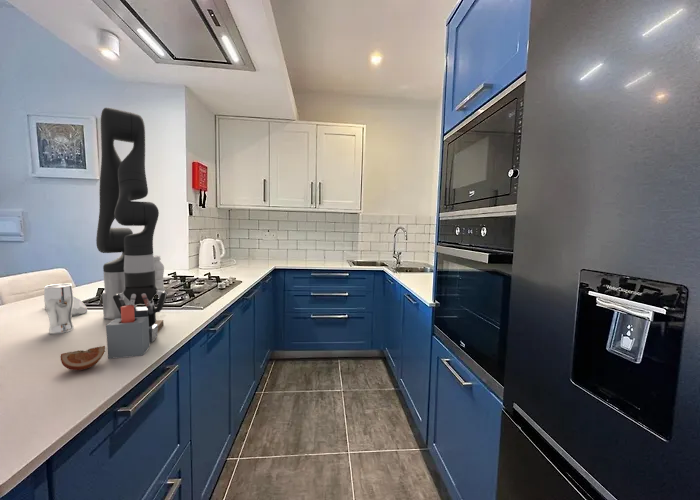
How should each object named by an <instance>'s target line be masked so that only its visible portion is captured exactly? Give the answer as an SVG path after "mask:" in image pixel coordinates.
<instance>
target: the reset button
mask: <svg viewBox="0 0 700 500" xmlns="http://www.w3.org/2000/svg"><path fill="white" fill-rule="evenodd" d="M134 321H135V313H134V305H125V306H122V307H121V323H130V322H134Z"/></svg>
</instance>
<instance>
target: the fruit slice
mask: <svg viewBox="0 0 700 500" xmlns="http://www.w3.org/2000/svg"><path fill="white" fill-rule="evenodd" d="M105 352H106V345H101V346H96V347H91V348H88V349H86V350H74V351H68V352H63V353H61V354H60V355H59V356H60V362H61V364H62V366H63V367H64V368H66V369H68V370H69V371H70V370H72V371H83V370H87V369H90V368H92V367H94V366H95V365H97V364H98V362H100V360H101V359H102V358H103V356H104V354H105Z"/></svg>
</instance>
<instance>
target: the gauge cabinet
mask: <svg viewBox="0 0 700 500" xmlns="http://www.w3.org/2000/svg"><path fill="white" fill-rule="evenodd" d="M105 329H106V330H105V331H106V332H105V333H106V346H107V348H106V349H107V359H118V358H129V357H139V356H144V355H145V354H146V352H147V351H148V350H149V348H150V346H151V345H150V342H149V320H148V316H147V317H135V321H134V322H130V323H121V318H117V319H112V320H111V321H110V322H109V323H107V324H106V325H105Z"/></svg>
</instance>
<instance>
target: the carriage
mask: <svg viewBox="0 0 700 500" xmlns="http://www.w3.org/2000/svg"><path fill="white" fill-rule="evenodd" d="M134 313H135V317H147V316H148V320H149V312H148V309H147V308H146V306H136V308H135V309H134ZM158 335H159V332H158V324H154V325H153V326H151V327H149V342H150V343H151V344H152V343H153V342H154V341H155V339H157V337H158Z"/></svg>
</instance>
